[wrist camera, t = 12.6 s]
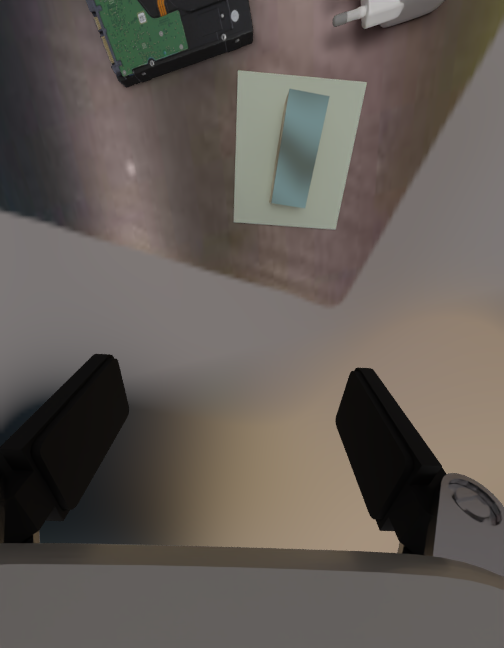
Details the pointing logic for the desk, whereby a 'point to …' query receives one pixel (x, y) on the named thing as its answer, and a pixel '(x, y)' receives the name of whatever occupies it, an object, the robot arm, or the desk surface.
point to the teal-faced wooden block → (298, 147)
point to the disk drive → (168, 33)
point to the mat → (262, 142)
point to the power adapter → (387, 12)
